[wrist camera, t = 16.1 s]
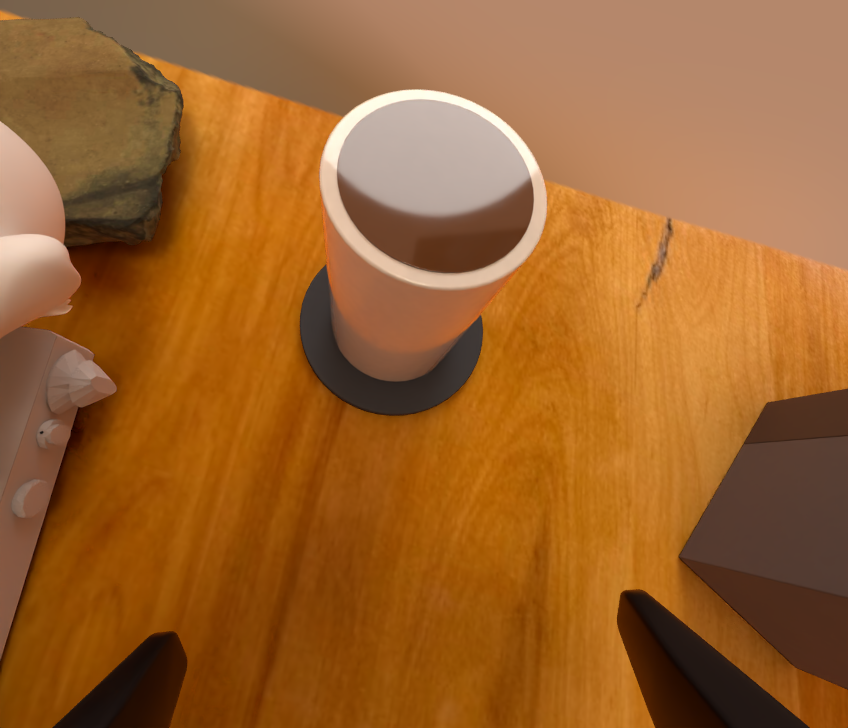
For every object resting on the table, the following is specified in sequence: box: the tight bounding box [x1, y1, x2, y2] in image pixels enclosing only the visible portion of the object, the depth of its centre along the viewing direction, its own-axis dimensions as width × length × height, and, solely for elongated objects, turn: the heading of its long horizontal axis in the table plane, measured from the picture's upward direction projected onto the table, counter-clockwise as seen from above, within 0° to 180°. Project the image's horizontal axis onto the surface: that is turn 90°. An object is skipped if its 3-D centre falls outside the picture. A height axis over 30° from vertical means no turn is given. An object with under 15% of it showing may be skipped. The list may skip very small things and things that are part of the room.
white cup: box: [319, 89, 547, 382], centre depth 14 cm, size 6×6×10 cm
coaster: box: [300, 264, 483, 415], centre depth 19 cm, size 8×8×1 cm
